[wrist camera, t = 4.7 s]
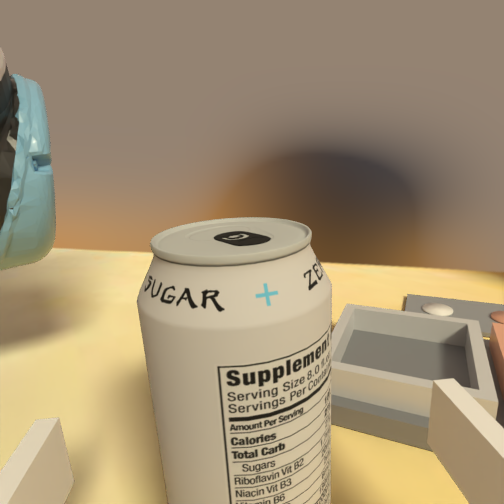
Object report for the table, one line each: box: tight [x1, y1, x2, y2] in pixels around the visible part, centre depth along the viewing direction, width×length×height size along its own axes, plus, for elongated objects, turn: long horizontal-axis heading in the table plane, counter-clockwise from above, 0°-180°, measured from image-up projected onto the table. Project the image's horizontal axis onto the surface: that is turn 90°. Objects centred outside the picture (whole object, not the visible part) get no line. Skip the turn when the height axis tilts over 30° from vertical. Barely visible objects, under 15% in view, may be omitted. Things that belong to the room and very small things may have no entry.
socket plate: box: [331, 304, 504, 451], centre depth 24 cm, size 22×12×4 cm, turn 65°
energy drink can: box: [137, 217, 332, 504], centre depth 13 cm, size 6×6×15 cm
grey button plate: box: [405, 294, 504, 337], centre depth 36 cm, size 12×7×1 cm, turn 65°
